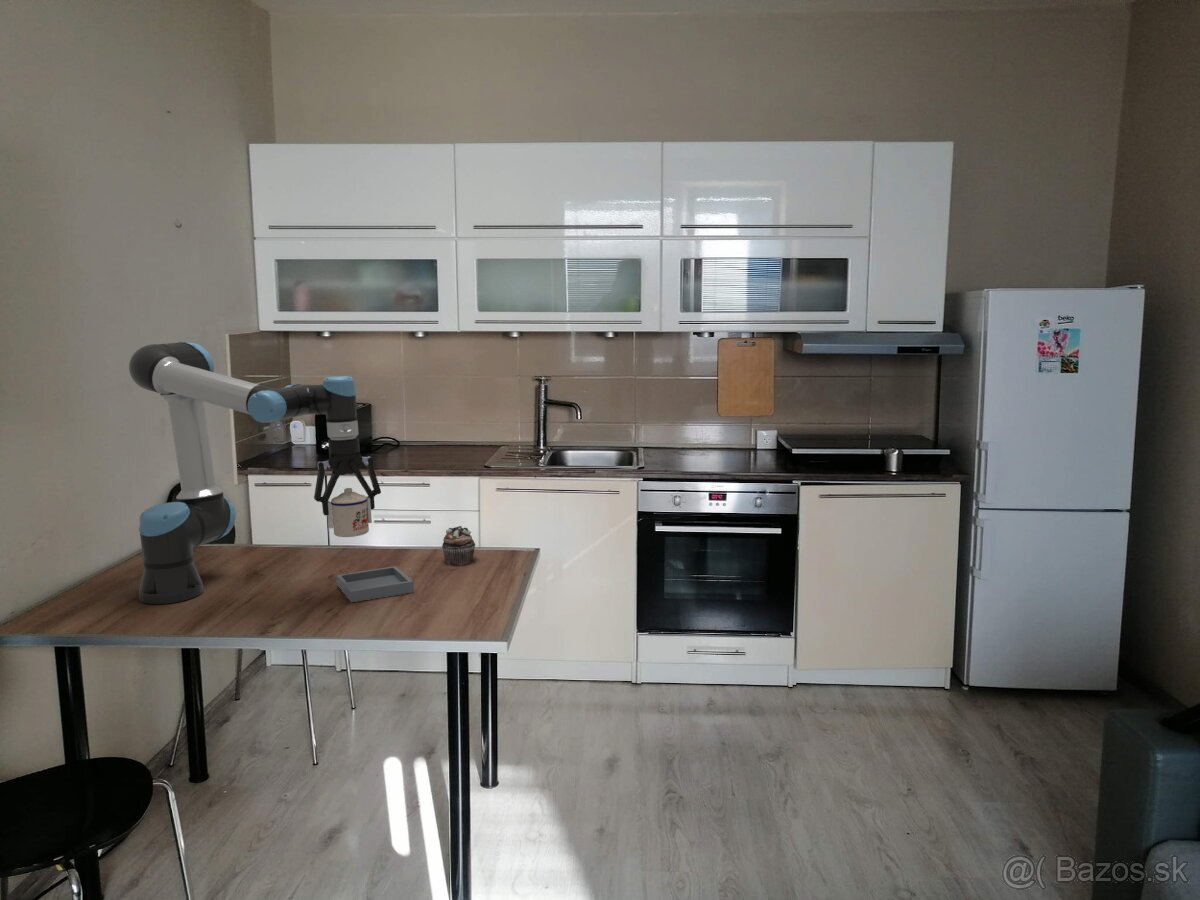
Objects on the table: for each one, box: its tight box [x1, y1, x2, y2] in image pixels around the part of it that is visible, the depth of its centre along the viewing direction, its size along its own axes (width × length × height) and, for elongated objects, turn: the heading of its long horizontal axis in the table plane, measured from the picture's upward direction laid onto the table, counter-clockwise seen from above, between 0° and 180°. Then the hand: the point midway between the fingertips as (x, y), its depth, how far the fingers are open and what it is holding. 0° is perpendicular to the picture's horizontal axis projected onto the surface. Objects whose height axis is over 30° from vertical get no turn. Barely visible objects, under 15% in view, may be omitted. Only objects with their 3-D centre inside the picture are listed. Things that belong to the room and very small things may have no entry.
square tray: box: [336, 565, 415, 603], centre depth 236 cm, size 16×16×3 cm
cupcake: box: [441, 525, 476, 566], centre depth 260 cm, size 10×10×10 cm
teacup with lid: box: [330, 487, 370, 538], centre depth 231 cm, size 12×9×12 cm
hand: (350, 524), depth 231 cm, fingers closed on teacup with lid, 9 cm apart
